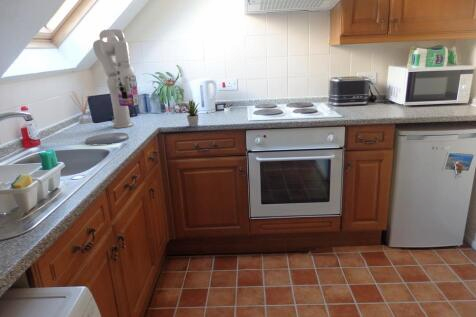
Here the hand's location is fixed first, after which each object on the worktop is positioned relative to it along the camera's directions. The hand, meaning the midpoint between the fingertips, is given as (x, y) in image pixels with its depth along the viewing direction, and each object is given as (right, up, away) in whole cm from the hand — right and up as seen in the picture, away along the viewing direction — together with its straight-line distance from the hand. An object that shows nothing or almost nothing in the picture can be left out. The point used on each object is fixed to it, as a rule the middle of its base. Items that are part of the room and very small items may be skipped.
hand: (128, 97), depth 202 cm
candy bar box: (0, -4, +1) cm, 5 cm away
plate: (-8, -25, -10) cm, 28 cm away
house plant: (+34, -14, +16) cm, 40 cm away
